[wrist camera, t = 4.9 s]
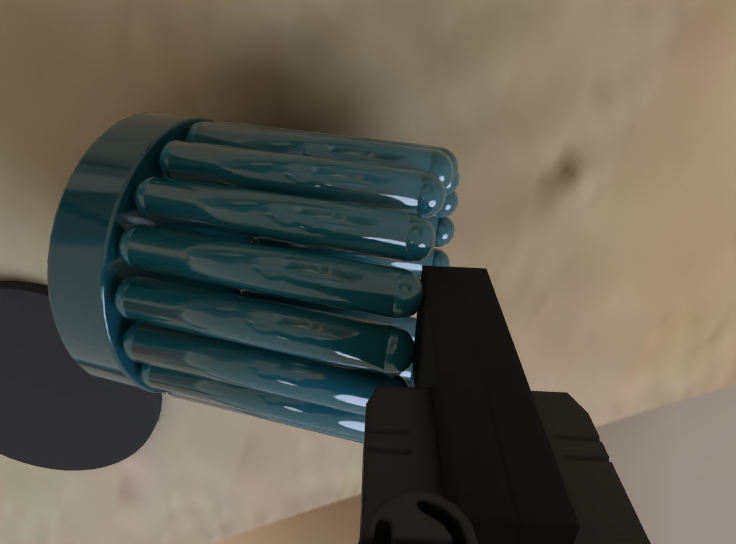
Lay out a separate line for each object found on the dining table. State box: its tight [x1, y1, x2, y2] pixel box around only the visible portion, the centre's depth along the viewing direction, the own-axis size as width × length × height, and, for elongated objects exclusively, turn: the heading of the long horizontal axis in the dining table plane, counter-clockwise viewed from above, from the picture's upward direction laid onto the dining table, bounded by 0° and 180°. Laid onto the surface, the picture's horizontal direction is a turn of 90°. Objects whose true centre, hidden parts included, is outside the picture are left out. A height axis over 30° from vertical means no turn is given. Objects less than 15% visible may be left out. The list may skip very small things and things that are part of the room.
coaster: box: [0, 281, 162, 470], centre depth 24 cm, size 11×11×1 cm
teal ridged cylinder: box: [47, 112, 459, 443], centre depth 16 cm, size 9×8×8 cm
